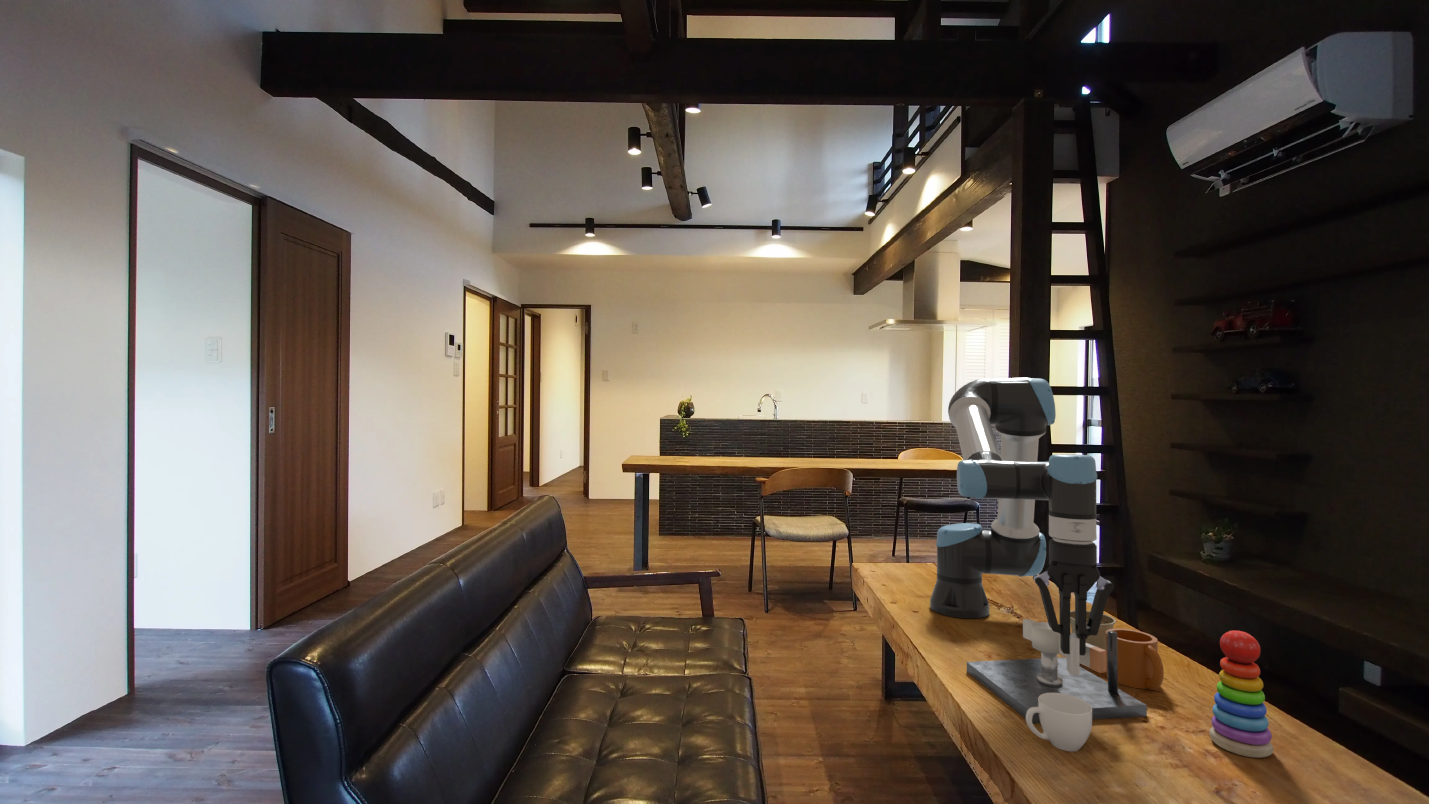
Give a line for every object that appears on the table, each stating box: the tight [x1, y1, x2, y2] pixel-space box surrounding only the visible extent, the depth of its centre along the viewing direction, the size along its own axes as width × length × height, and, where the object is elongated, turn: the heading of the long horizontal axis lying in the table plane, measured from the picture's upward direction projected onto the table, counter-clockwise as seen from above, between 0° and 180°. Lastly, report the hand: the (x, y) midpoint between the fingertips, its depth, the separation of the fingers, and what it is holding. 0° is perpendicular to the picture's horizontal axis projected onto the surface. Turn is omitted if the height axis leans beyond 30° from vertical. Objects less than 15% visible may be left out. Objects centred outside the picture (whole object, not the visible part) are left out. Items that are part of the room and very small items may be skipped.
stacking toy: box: [1208, 630, 1274, 759], centre depth 102 cm, size 8×8×19 cm
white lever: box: [1022, 618, 1107, 674], centre depth 119 cm, size 18×6×4 cm, turn 16°
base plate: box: [966, 631, 1148, 724], centre depth 122 cm, size 22×22×13 cm
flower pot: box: [1070, 610, 1117, 650], centre depth 140 cm, size 9×9×9 cm
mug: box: [1106, 628, 1165, 691], centre depth 126 cm, size 9×12×9 cm
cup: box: [1025, 693, 1093, 752], centre depth 102 cm, size 8×10×7 cm
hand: (1073, 672), depth 113 cm, fingers closed
